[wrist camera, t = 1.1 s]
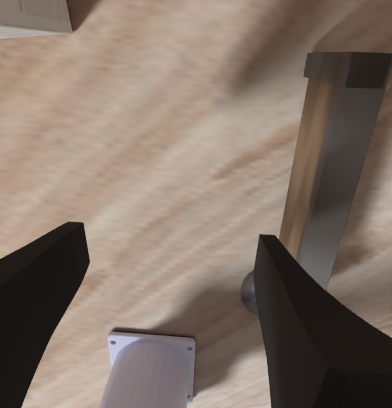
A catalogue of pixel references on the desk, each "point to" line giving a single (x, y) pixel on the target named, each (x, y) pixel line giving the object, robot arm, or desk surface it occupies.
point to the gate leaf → (331, 153)
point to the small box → (33, 18)
